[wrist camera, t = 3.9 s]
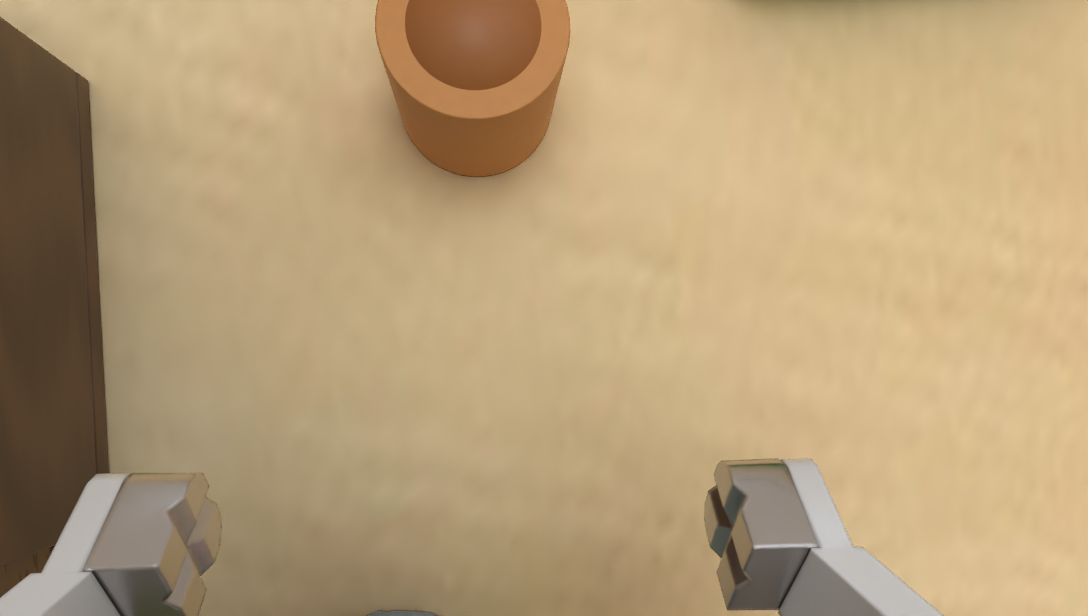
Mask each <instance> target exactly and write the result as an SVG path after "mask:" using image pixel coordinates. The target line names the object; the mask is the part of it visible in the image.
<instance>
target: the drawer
mask: <svg viewBox="0 0 1088 616" xmlns="http://www.w3.org/2000/svg"><path fill="white" fill-rule="evenodd" d="M50 554H51V547H50V548H47V549H45V550H42V551H40V552H37V553H35V554H32V555H30V556H27V557H25V558H23V559H20V560H18V561H15V562H13V563H10V564H8V565H5V566H3V567H1V568H0V597H2V596H3V595H4V594H5V593H7V592H8V591H9V590H10V589H12V588H13V587H14V586H15V585H17V584H18V583H19V582H20V581H22V580H23V579H24V578H25V577H27V576H28V575H29V574H30V573H41V572H42V570H43V568H44V566H45V564H46V562H47V560H48V558H49V556H50Z"/></svg>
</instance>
